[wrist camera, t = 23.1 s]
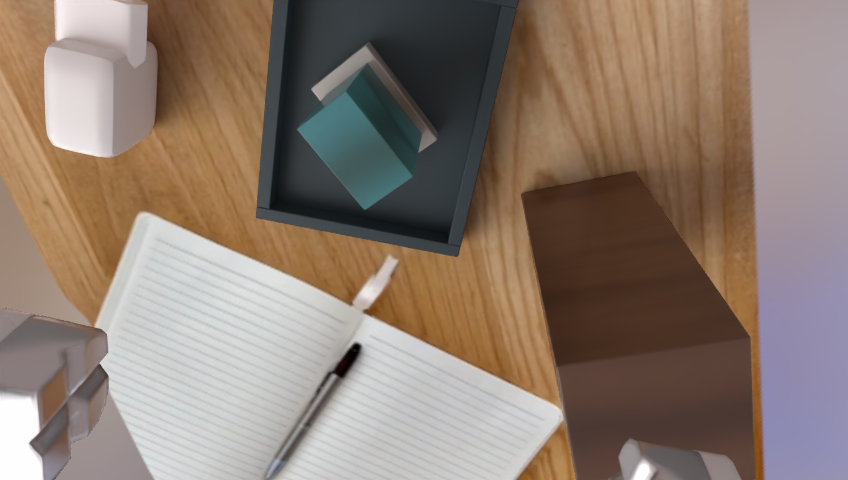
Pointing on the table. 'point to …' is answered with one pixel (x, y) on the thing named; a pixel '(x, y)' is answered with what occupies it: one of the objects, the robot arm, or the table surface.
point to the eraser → (367, 126)
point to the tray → (425, 82)
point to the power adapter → (100, 77)
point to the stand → (636, 329)
